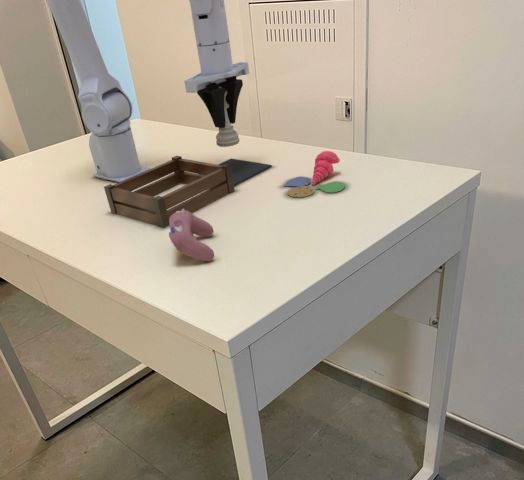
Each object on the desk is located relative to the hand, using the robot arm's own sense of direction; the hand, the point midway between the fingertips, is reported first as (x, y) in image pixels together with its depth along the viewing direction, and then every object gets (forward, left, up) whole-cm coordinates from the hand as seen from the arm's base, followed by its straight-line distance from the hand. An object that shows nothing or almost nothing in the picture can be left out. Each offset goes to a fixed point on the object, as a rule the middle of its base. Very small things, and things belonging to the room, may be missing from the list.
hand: (225, 125), depth 103 cm
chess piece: (0, 0, -4) cm, 4 cm away
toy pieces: (+19, +1, -9) cm, 21 cm away
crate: (0, -16, -9) cm, 18 cm away
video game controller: (+18, -28, -9) cm, 34 cm away
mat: (0, 0, -9) cm, 9 cm away
